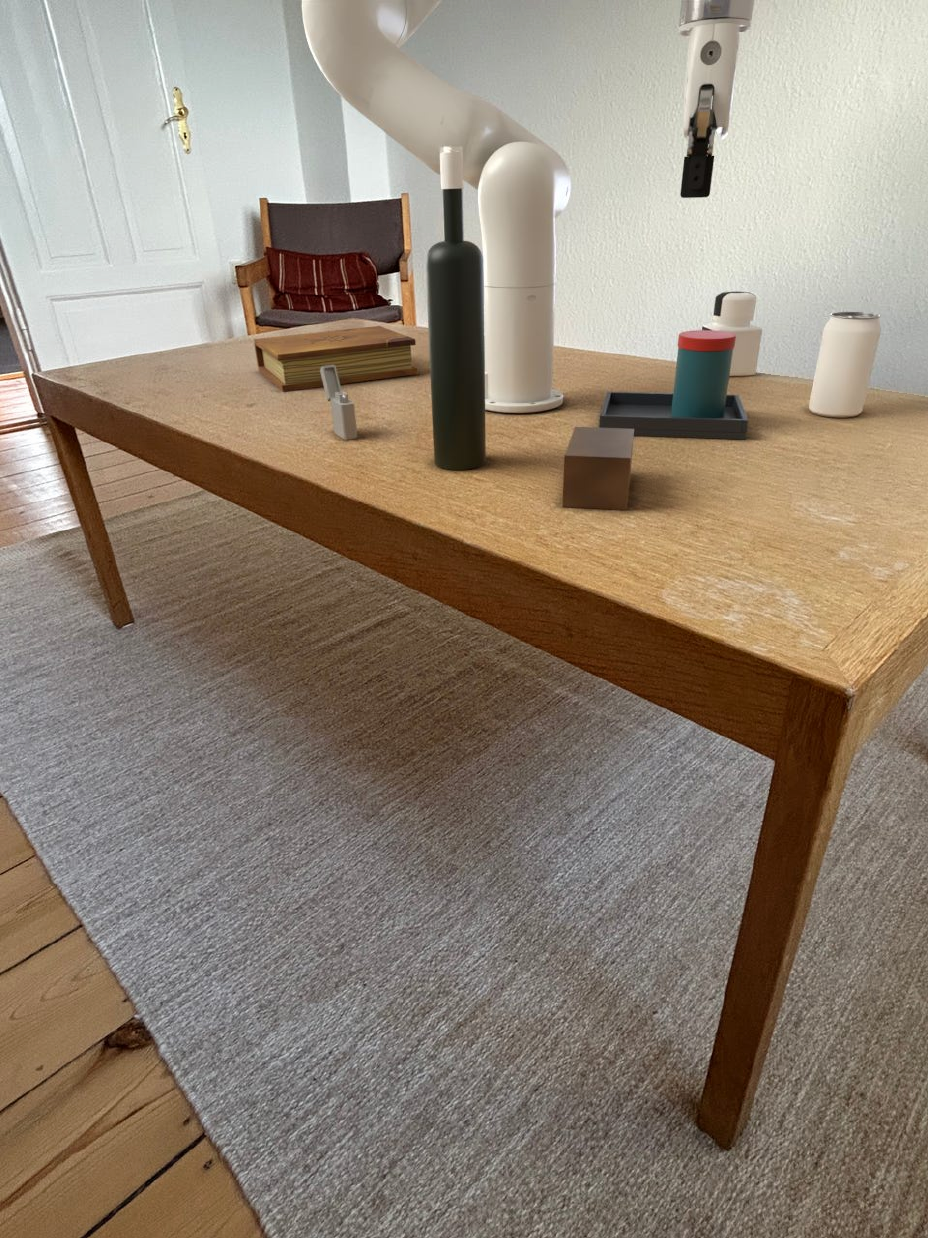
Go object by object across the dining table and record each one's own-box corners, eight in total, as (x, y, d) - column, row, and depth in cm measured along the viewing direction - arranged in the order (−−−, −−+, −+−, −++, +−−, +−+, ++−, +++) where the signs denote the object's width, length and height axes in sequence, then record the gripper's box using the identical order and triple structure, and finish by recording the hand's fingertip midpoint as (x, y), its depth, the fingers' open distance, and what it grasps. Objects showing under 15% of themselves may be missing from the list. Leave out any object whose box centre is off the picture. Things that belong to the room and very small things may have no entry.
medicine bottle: (696, 368, 125) (705, 290, 119) (737, 366, 126) (749, 288, 120) (712, 377, 119) (723, 295, 113) (755, 375, 119) (768, 293, 114)
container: (633, 380, 91) (712, 308, 86) (634, 370, 97) (709, 301, 91) (694, 449, 94) (775, 383, 88) (692, 435, 99) (768, 372, 94)
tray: (598, 434, 92) (599, 415, 91) (605, 408, 104) (606, 391, 102) (745, 439, 89) (748, 420, 88) (736, 412, 100) (738, 394, 99)
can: (867, 419, 95) (891, 318, 89) (812, 417, 96) (832, 318, 91) (854, 406, 101) (876, 311, 95) (803, 405, 102) (821, 311, 96)
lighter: (358, 437, 94) (351, 371, 90) (344, 439, 93) (337, 373, 89) (338, 425, 99) (332, 362, 96) (326, 427, 99) (319, 364, 95)
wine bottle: (436, 454, 87) (422, 149, 72) (486, 454, 86) (482, 147, 72) (432, 470, 82) (417, 145, 67) (485, 470, 81) (481, 143, 67)
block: (562, 506, 71) (564, 455, 69) (572, 473, 80) (575, 426, 77) (626, 510, 70) (630, 458, 68) (630, 476, 78) (634, 428, 76)
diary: (380, 357, 141) (378, 325, 139) (417, 375, 127) (415, 339, 124) (258, 371, 133) (253, 337, 130) (282, 391, 118) (277, 353, 116)
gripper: (757, -7, 73) (730, 196, 81) (748, 26, 87) (726, 196, 95) (677, 0, 74) (659, 198, 83) (681, 31, 89) (665, 197, 97)
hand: (695, 196), depth 89 cm, fingers open, 9 cm apart
